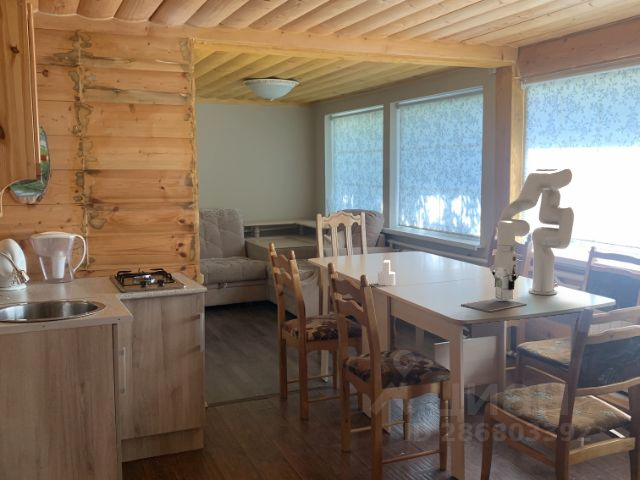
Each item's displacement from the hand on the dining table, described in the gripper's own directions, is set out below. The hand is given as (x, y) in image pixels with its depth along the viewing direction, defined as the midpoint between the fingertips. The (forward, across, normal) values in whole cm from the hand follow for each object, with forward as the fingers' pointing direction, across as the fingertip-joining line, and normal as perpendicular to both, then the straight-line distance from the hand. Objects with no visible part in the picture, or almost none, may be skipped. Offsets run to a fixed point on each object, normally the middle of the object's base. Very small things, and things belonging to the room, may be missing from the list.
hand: (504, 288), depth 285 cm
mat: (+7, -1, +8) cm, 11 cm away
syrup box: (+5, 0, 0) cm, 5 cm away
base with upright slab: (+7, +64, +14) cm, 66 cm away
